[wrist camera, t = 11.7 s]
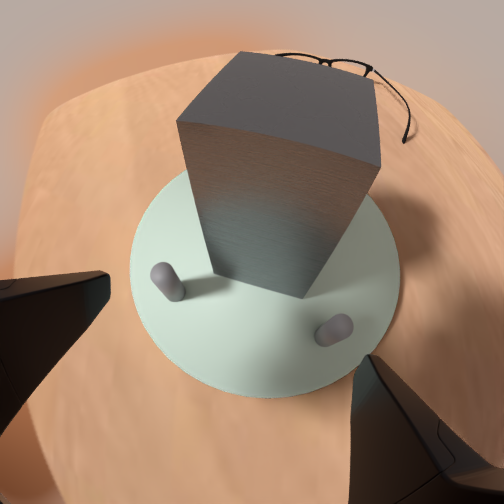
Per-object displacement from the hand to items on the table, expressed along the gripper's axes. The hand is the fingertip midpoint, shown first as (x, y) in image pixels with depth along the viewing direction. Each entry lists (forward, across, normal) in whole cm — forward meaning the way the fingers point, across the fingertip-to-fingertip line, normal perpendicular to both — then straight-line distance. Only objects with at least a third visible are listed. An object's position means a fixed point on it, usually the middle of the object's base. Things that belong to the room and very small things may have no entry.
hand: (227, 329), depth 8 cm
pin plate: (+12, 0, +1) cm, 12 cm away
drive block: (+11, 0, 0) cm, 11 cm away
